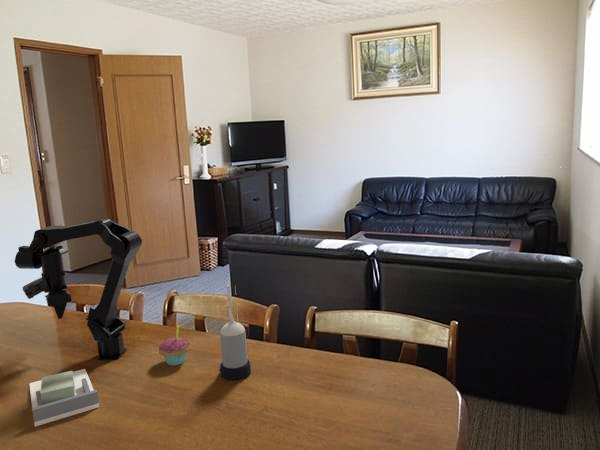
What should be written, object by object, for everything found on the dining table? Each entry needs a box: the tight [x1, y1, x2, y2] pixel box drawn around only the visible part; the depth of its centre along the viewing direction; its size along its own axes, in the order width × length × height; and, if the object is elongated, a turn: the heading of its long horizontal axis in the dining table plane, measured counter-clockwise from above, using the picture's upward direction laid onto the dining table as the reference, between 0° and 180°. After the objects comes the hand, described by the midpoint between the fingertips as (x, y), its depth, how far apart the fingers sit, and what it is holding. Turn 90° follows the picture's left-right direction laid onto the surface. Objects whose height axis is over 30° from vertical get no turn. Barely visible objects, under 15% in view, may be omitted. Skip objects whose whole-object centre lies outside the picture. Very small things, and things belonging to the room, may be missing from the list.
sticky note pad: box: [41, 370, 75, 405], centre depth 123 cm, size 9×7×5 cm
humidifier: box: [218, 284, 252, 382], centre depth 132 cm, size 8×8×25 cm
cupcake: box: [158, 322, 191, 366], centre depth 142 cm, size 9×8×12 cm
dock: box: [28, 368, 100, 427], centre depth 127 cm, size 24×14×5 cm, turn 31°
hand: (60, 318), depth 151 cm, fingers closed
